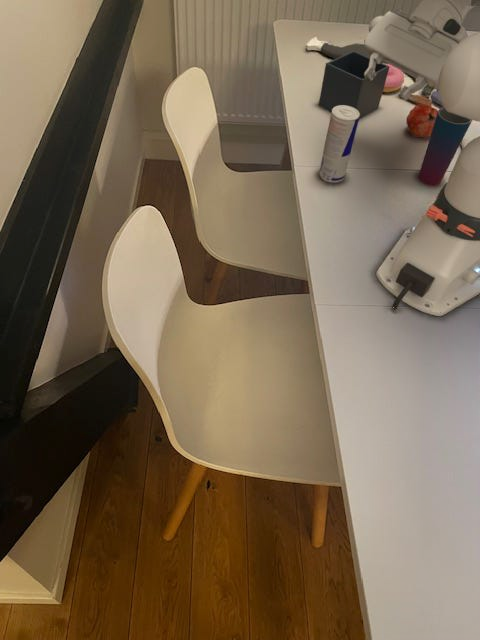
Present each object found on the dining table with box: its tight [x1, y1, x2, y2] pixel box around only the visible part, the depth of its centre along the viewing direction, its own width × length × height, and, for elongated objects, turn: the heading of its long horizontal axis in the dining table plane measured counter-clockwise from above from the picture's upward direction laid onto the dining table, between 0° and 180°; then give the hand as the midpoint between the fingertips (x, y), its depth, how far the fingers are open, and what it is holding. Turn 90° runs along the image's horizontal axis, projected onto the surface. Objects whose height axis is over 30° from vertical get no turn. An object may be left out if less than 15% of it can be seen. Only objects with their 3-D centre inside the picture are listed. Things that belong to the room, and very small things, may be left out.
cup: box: [417, 106, 473, 186], centre depth 105 cm, size 7×7×15 cm
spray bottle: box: [305, 36, 388, 64], centre depth 146 cm, size 3×11×24 cm
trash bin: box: [318, 51, 389, 120], centre depth 125 cm, size 11×11×11 cm
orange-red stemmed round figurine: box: [405, 104, 439, 138], centre depth 120 cm, size 7×7×10 cm
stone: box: [398, 93, 433, 107], centre depth 132 cm, size 9×2×3 cm
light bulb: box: [368, 15, 384, 33], centre depth 146 cm, size 6×6×10 cm
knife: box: [420, 84, 435, 98], centre depth 139 cm, size 20×1×3 cm
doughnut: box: [382, 63, 405, 93], centre depth 136 cm, size 11×11×4 cm
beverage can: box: [318, 105, 360, 184], centre depth 104 cm, size 6×6×15 cm
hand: (384, 87), depth 101 cm, fingers open, 8 cm apart
